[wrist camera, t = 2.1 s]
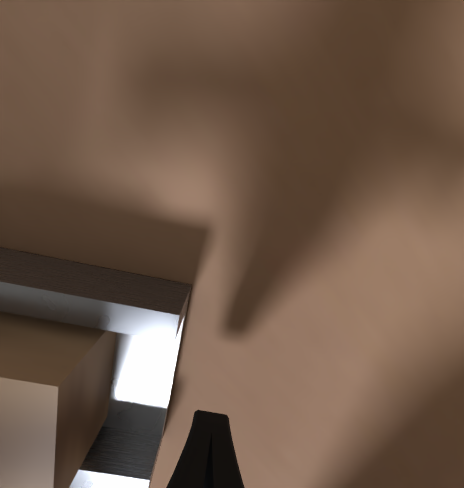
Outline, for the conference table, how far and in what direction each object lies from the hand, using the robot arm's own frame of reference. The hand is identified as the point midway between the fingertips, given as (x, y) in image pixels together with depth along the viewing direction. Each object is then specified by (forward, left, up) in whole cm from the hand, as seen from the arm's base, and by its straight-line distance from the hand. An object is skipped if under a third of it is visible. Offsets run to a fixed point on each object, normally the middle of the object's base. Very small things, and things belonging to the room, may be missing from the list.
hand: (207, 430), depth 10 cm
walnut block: (0, +8, -2) cm, 8 cm away
